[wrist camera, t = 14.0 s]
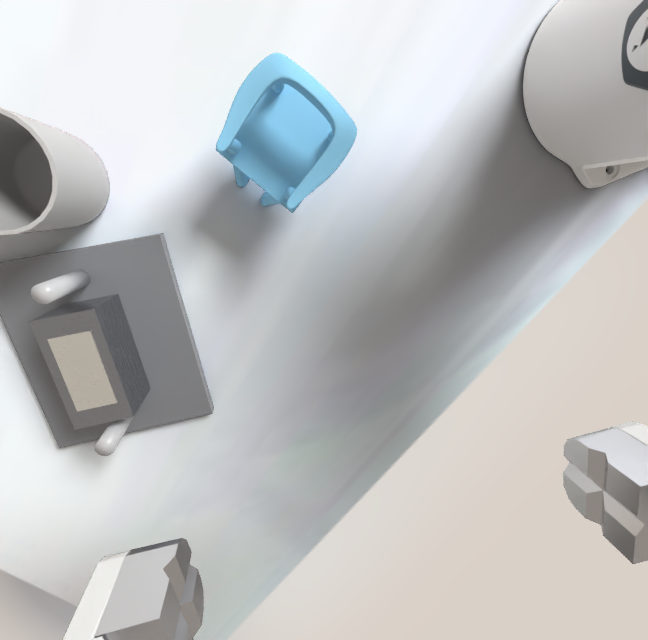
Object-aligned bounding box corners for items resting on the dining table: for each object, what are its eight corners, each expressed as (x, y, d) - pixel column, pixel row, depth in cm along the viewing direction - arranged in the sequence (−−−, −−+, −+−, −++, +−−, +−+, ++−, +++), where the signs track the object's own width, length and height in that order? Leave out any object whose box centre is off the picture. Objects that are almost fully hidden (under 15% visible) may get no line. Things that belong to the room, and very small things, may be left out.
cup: (70, 245, 32) (2, 260, 24) (-43, 145, 29) (-167, 121, 21) (132, 185, 32) (84, 178, 23) (23, 76, 29) (-77, 23, 20)
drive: (118, 293, 33) (93, 309, 28) (150, 388, 36) (133, 417, 31) (63, 304, 32) (27, 322, 28) (100, 399, 35) (74, 430, 30)
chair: (212, 164, 32) (183, 145, 21) (272, 78, 31) (277, 8, 20) (286, 224, 35) (296, 236, 23) (345, 146, 33) (387, 118, 22)
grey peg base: (163, 233, 33) (137, 240, 26) (213, 407, 38) (203, 451, 31) (-11, 264, 32) (-86, 281, 25) (65, 440, 37) (21, 494, 30)
